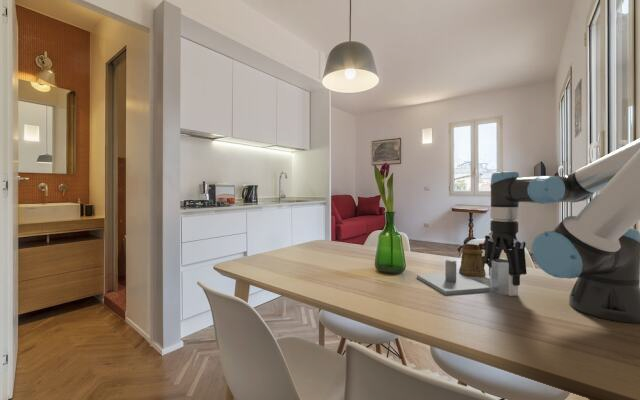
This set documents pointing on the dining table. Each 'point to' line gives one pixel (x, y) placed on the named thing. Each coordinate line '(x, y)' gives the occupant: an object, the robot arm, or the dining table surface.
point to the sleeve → (500, 276)
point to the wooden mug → (473, 259)
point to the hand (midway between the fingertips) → (503, 290)
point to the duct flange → (452, 281)
